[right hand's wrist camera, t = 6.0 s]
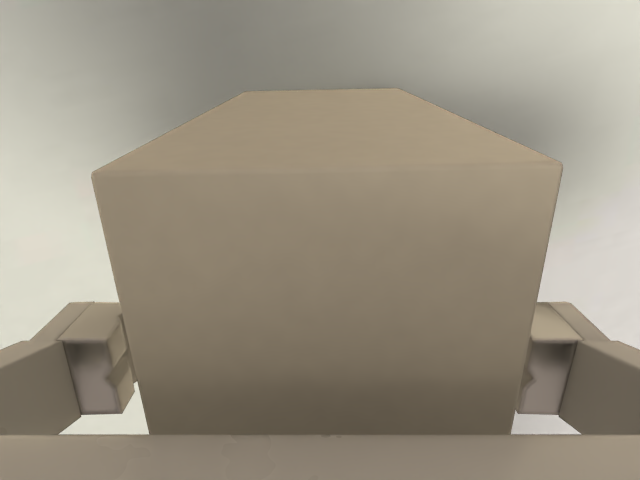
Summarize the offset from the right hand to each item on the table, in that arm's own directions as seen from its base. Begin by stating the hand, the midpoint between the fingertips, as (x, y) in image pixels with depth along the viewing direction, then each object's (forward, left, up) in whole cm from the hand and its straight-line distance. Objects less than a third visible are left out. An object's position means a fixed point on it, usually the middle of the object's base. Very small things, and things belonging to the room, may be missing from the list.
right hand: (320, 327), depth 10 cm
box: (+8, 0, -9) cm, 12 cm away
